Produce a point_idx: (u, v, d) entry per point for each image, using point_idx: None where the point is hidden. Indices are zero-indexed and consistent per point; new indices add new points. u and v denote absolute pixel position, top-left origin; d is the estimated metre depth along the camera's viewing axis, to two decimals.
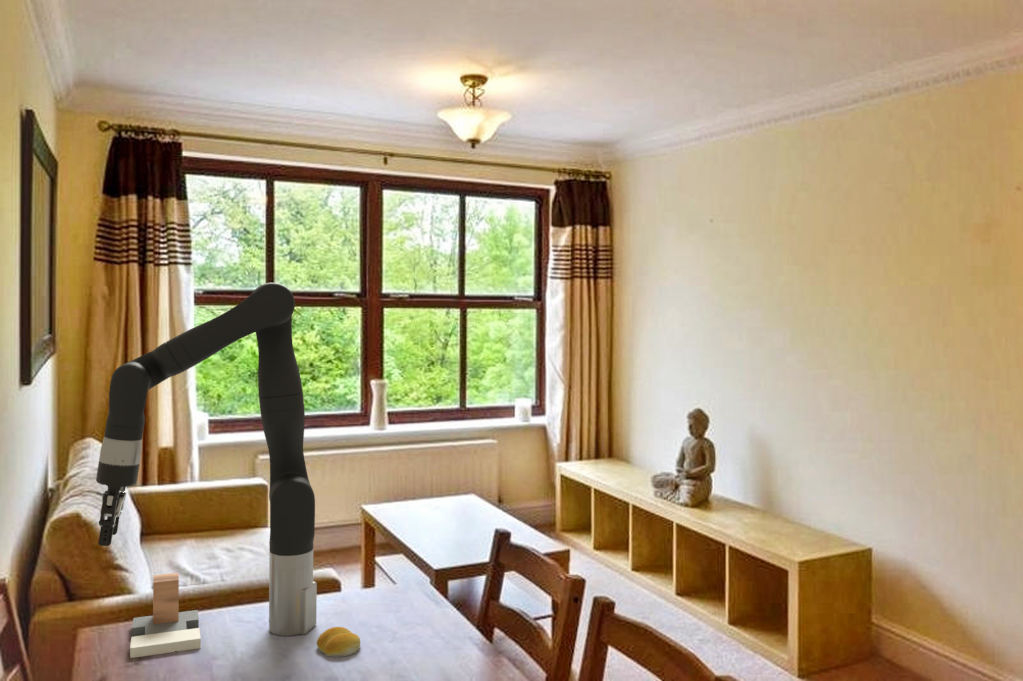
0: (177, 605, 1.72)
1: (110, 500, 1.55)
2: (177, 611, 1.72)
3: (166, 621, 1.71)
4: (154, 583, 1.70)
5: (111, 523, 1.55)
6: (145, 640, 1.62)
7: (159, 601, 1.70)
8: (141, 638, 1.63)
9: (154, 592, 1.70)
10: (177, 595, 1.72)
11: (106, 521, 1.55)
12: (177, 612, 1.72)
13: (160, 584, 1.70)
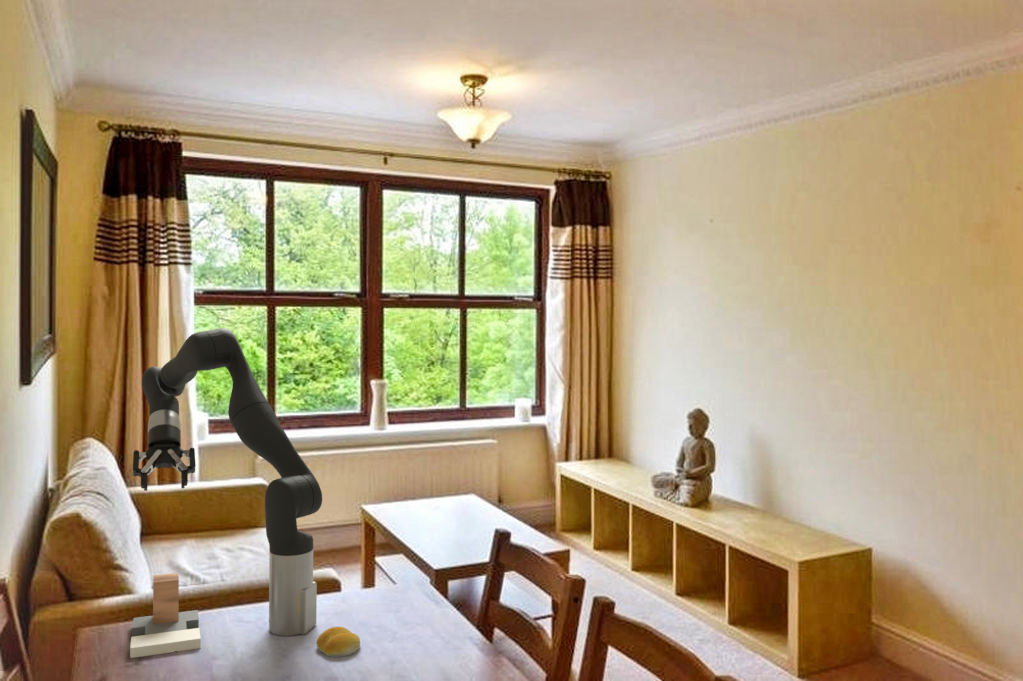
0: (177, 605, 1.72)
1: None
2: (177, 611, 1.72)
3: (166, 621, 1.71)
4: (154, 583, 1.70)
5: None
6: (145, 640, 1.62)
7: (159, 601, 1.70)
8: (141, 638, 1.63)
9: (154, 592, 1.70)
10: (177, 595, 1.72)
11: None
12: (177, 612, 1.72)
13: (160, 584, 1.70)
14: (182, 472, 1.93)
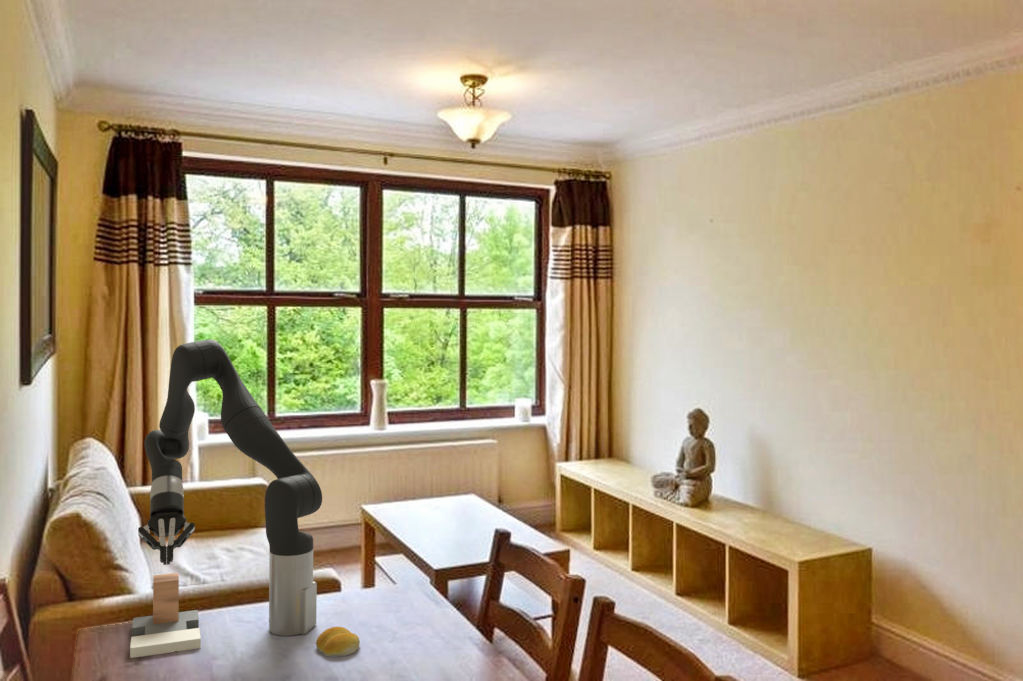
0: (177, 605, 1.72)
1: (139, 534, 1.87)
2: (177, 611, 1.72)
3: (166, 621, 1.71)
4: (154, 583, 1.70)
5: (152, 544, 1.85)
6: (145, 640, 1.62)
7: (159, 601, 1.70)
8: (141, 638, 1.63)
9: (154, 592, 1.70)
10: (177, 595, 1.72)
11: None
12: (177, 612, 1.72)
13: (160, 584, 1.70)
14: (168, 547, 1.85)
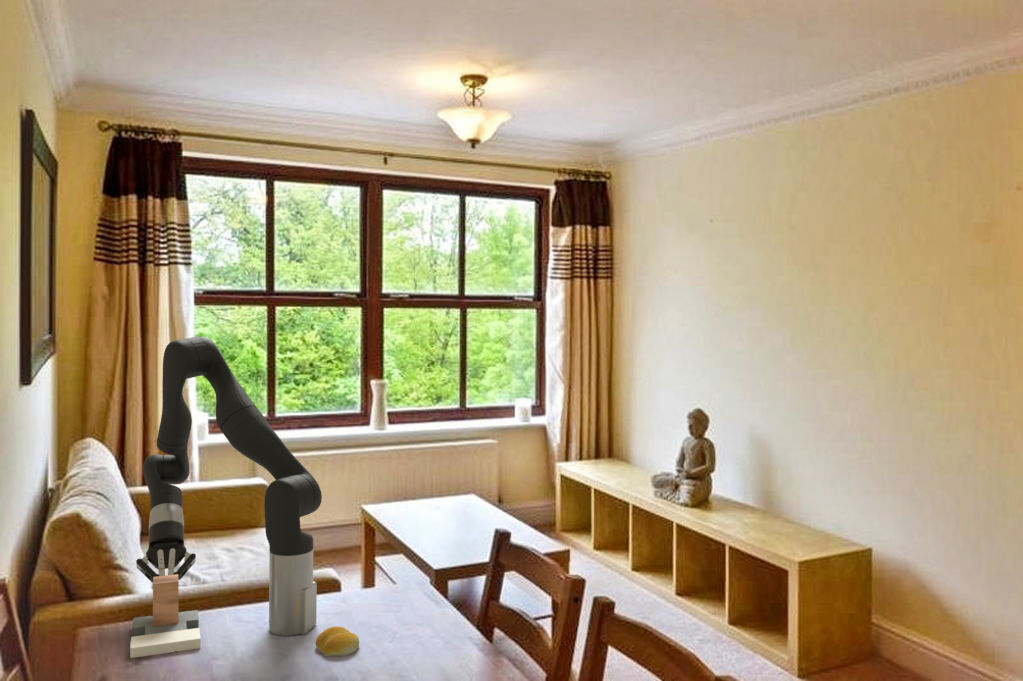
0: (177, 607, 1.71)
1: (137, 566, 1.78)
2: (177, 613, 1.71)
3: (166, 623, 1.70)
4: (154, 585, 1.69)
5: (151, 577, 1.76)
6: (145, 640, 1.62)
7: (159, 603, 1.69)
8: (141, 638, 1.63)
9: (154, 594, 1.69)
10: (177, 597, 1.71)
11: None
12: (177, 614, 1.71)
13: (160, 586, 1.69)
14: None
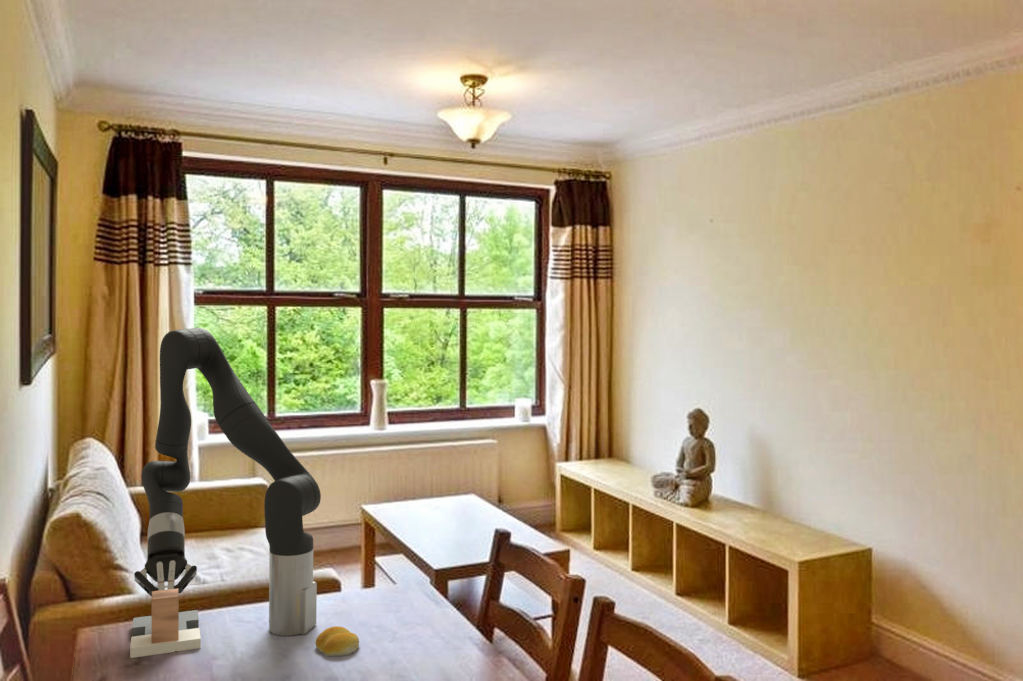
0: (177, 623, 1.62)
1: (136, 579, 1.69)
2: (177, 629, 1.62)
3: (165, 640, 1.61)
4: (152, 600, 1.60)
5: (149, 590, 1.67)
6: (145, 640, 1.62)
7: (158, 619, 1.60)
8: (141, 638, 1.63)
9: (152, 609, 1.60)
10: (177, 612, 1.62)
11: None
12: (177, 630, 1.62)
13: (159, 601, 1.60)
14: None
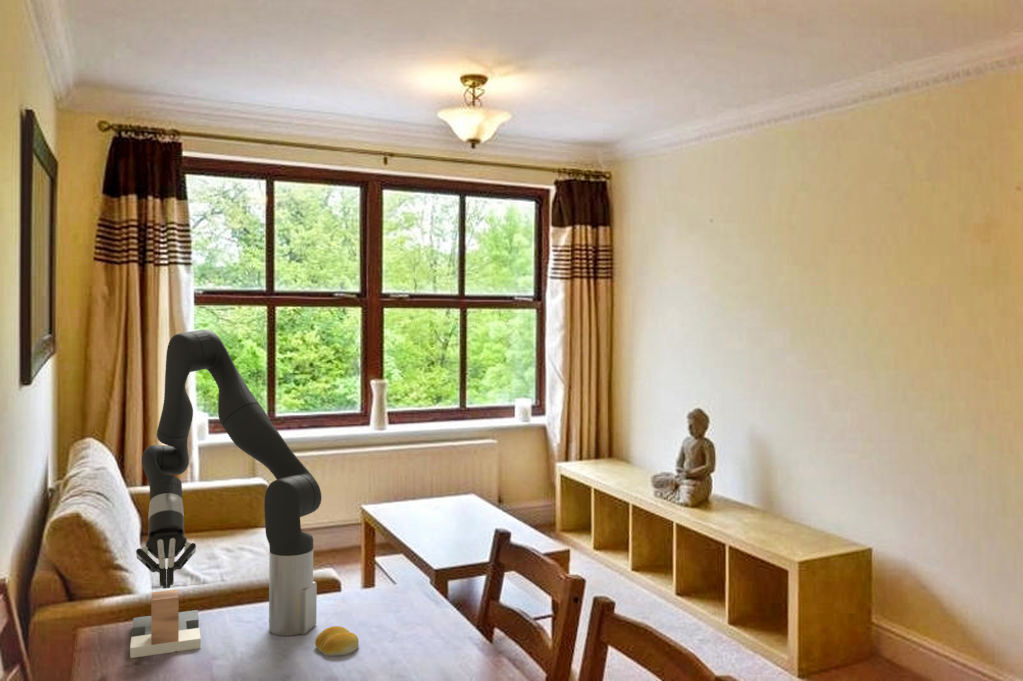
0: (177, 624, 1.61)
1: (137, 556, 1.77)
2: (177, 630, 1.61)
3: (165, 641, 1.61)
4: (152, 601, 1.59)
5: (151, 566, 1.75)
6: (145, 640, 1.62)
7: (158, 620, 1.60)
8: (141, 638, 1.63)
9: (152, 610, 1.59)
10: (177, 613, 1.61)
11: None
12: (177, 632, 1.61)
13: (159, 602, 1.60)
14: (167, 570, 1.76)
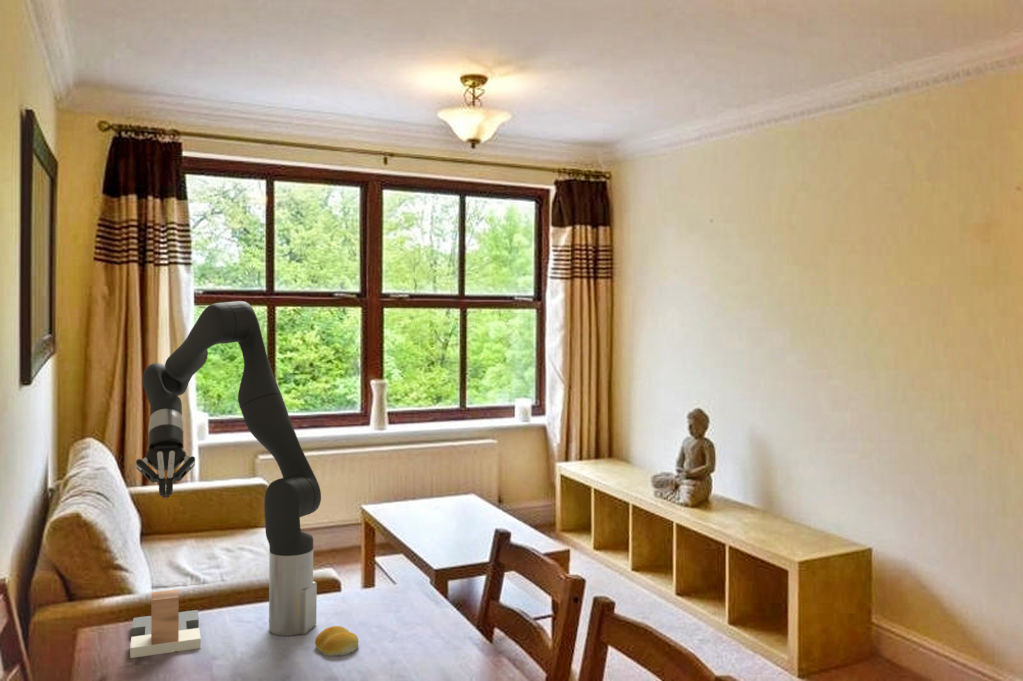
0: (177, 624, 1.61)
1: (137, 466, 1.80)
2: (177, 630, 1.61)
3: (165, 641, 1.61)
4: (152, 601, 1.59)
5: (150, 476, 1.78)
6: (145, 640, 1.62)
7: (158, 620, 1.60)
8: (141, 638, 1.63)
9: (152, 610, 1.59)
10: (177, 613, 1.61)
11: None
12: (177, 632, 1.61)
13: (159, 602, 1.60)
14: (167, 480, 1.78)
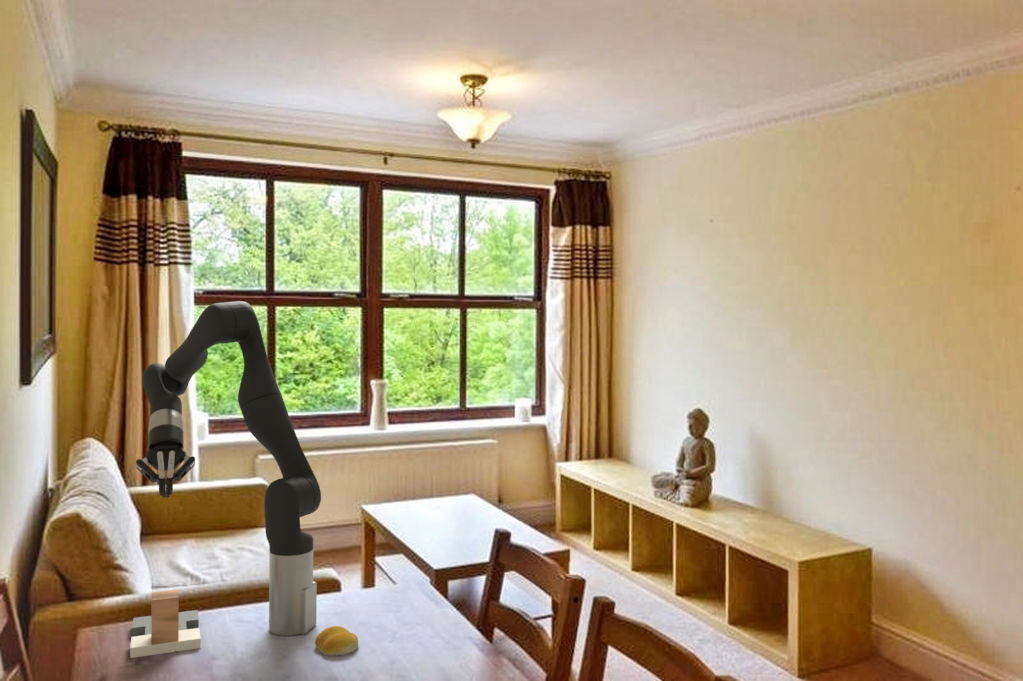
0: (177, 624, 1.61)
1: (137, 466, 1.80)
2: (177, 630, 1.61)
3: (165, 641, 1.61)
4: (152, 601, 1.59)
5: (150, 476, 1.78)
6: (145, 640, 1.62)
7: (158, 620, 1.60)
8: (141, 638, 1.63)
9: (152, 610, 1.59)
10: (177, 613, 1.61)
11: None
12: (177, 632, 1.61)
13: (159, 602, 1.60)
14: (167, 480, 1.78)
